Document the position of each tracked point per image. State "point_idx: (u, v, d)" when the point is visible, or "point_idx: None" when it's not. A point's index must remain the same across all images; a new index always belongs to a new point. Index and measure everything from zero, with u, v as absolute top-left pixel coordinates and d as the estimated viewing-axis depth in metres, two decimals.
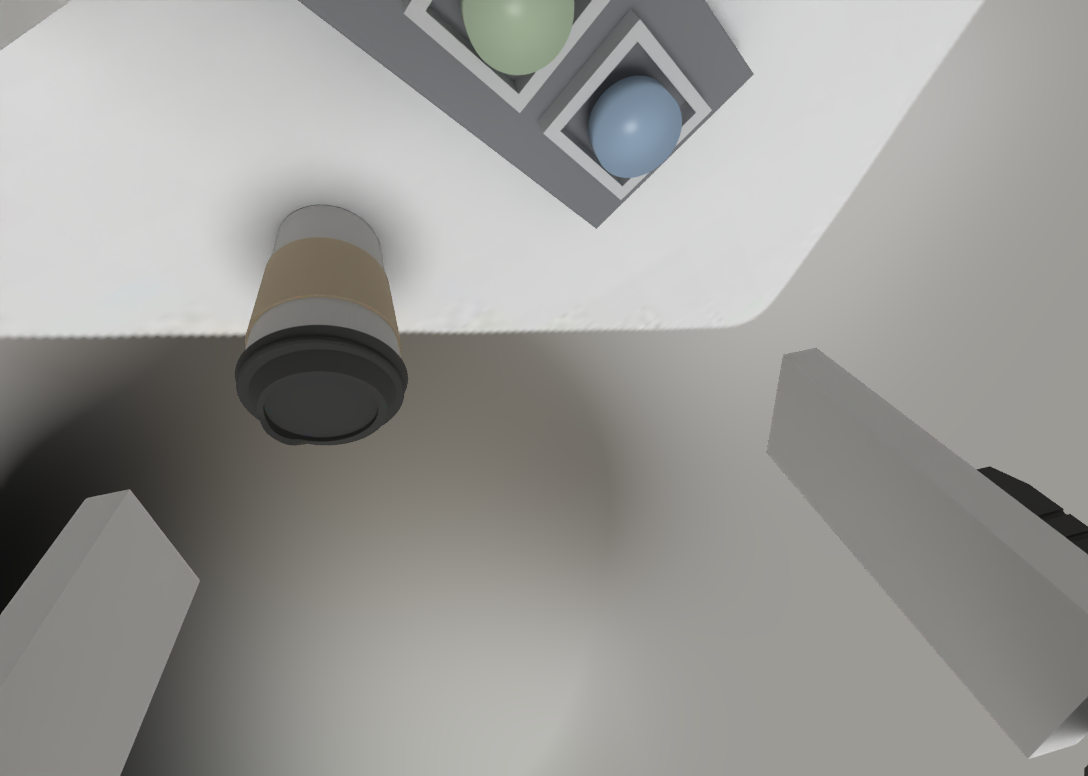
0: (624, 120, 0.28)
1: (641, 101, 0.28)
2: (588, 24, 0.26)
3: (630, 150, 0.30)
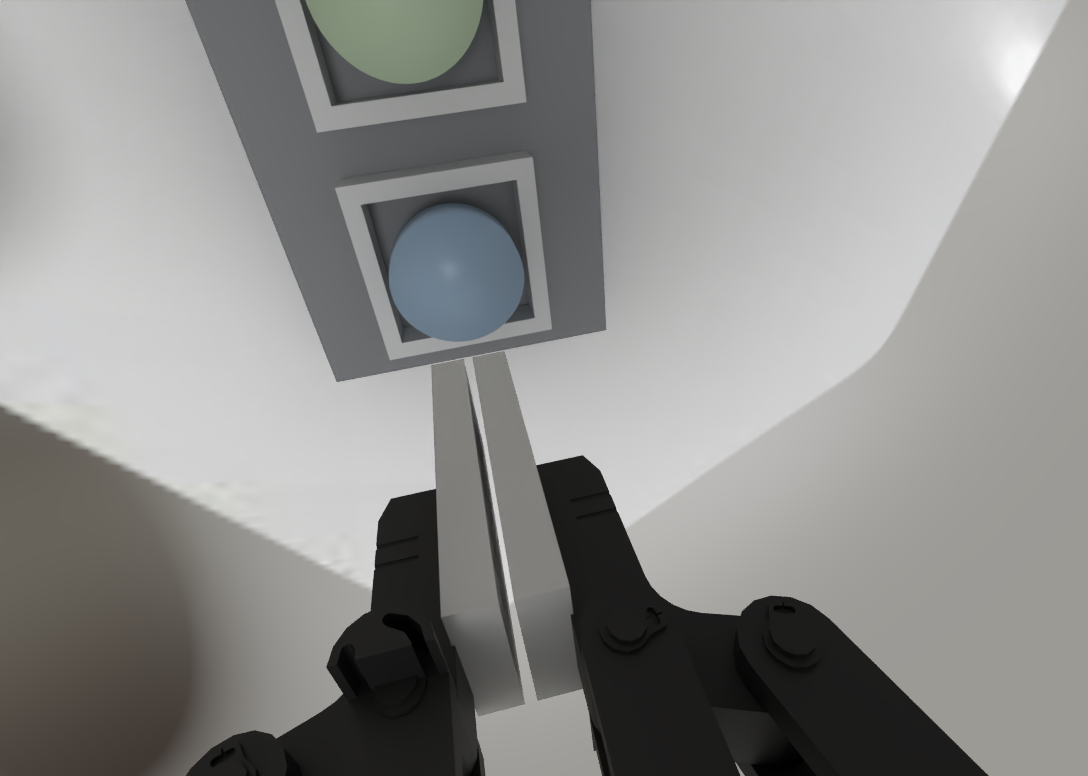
0: (451, 247, 0.19)
1: (485, 240, 0.19)
2: (473, 106, 0.18)
3: (437, 292, 0.20)
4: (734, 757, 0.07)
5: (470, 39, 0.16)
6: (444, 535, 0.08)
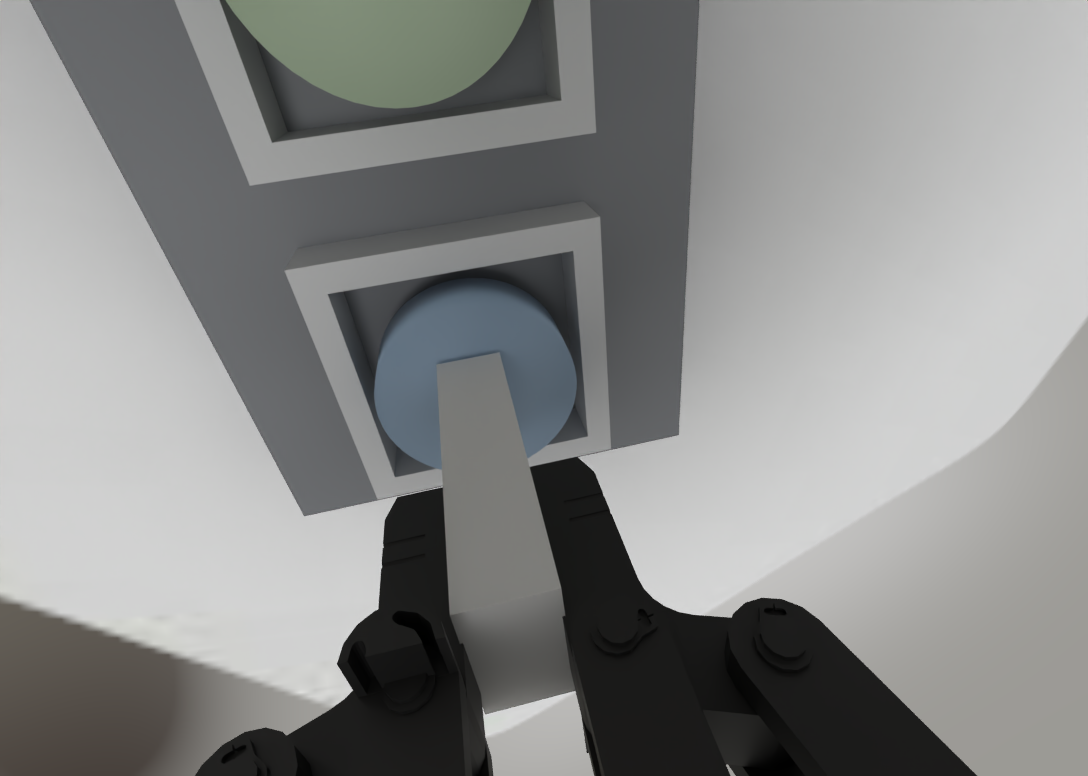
0: (469, 350, 0.12)
1: (521, 339, 0.12)
2: (509, 140, 0.11)
3: None
4: (726, 759, 0.07)
5: (515, 27, 0.09)
6: (451, 533, 0.08)
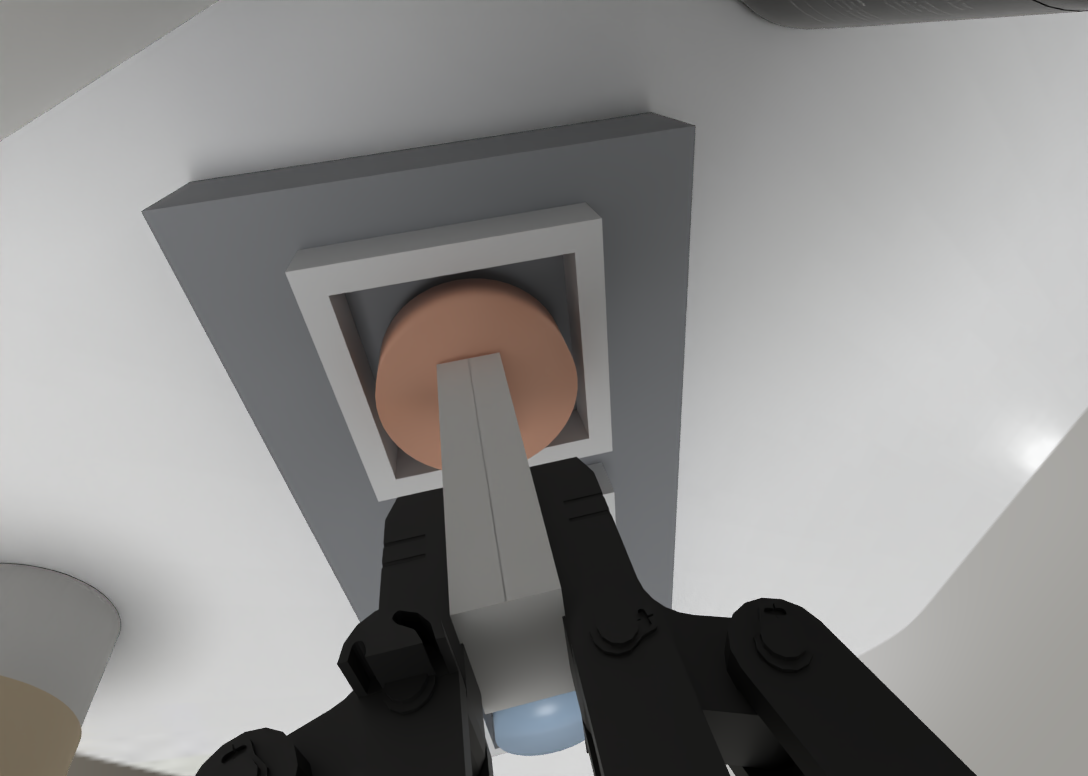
0: (549, 712, 0.23)
1: (577, 704, 0.23)
2: None
3: (533, 734, 0.23)
4: (726, 760, 0.07)
5: None
6: (452, 533, 0.08)
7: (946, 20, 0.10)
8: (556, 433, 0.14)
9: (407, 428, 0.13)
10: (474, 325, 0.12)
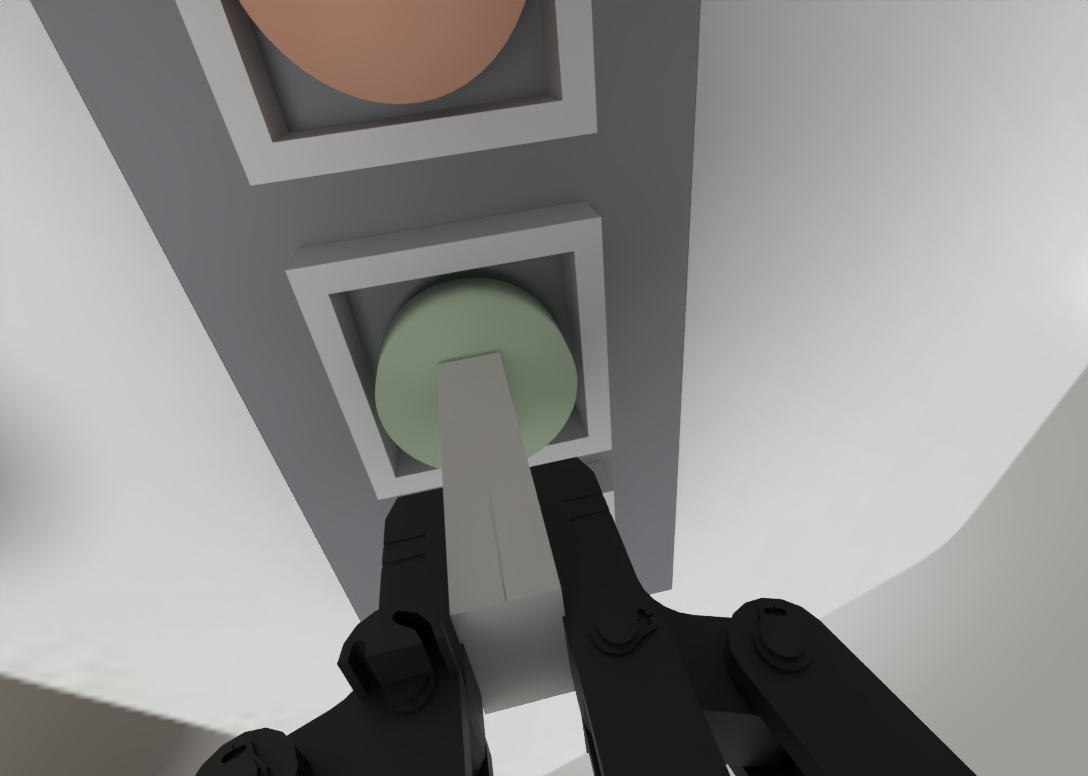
0: None
1: None
2: (552, 459, 0.16)
3: None
4: (726, 760, 0.07)
5: (558, 431, 0.14)
6: (452, 533, 0.08)
7: None
8: (506, 32, 0.09)
9: None
10: None
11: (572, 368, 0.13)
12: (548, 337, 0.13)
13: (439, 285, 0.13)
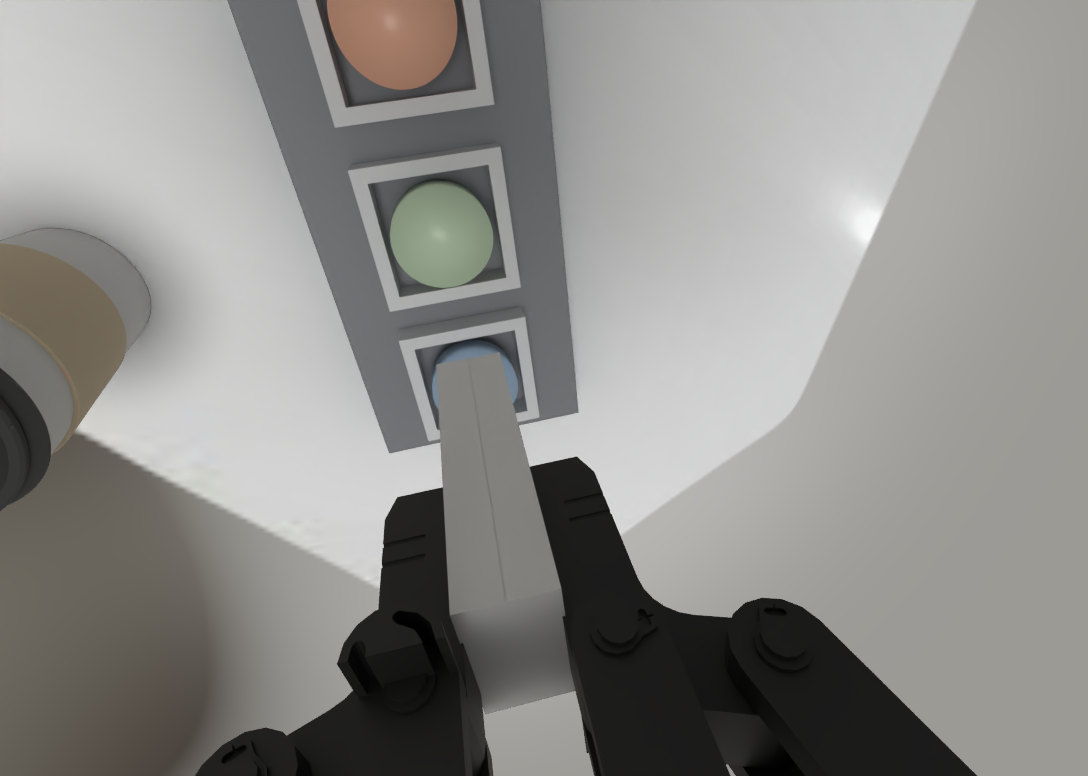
0: None
1: None
2: (487, 292, 0.29)
3: None
4: (726, 760, 0.07)
5: (485, 263, 0.27)
6: (452, 533, 0.08)
7: None
8: (447, 59, 0.22)
9: (348, 38, 0.21)
10: None
11: (489, 225, 0.26)
12: (475, 206, 0.25)
13: (421, 183, 0.26)
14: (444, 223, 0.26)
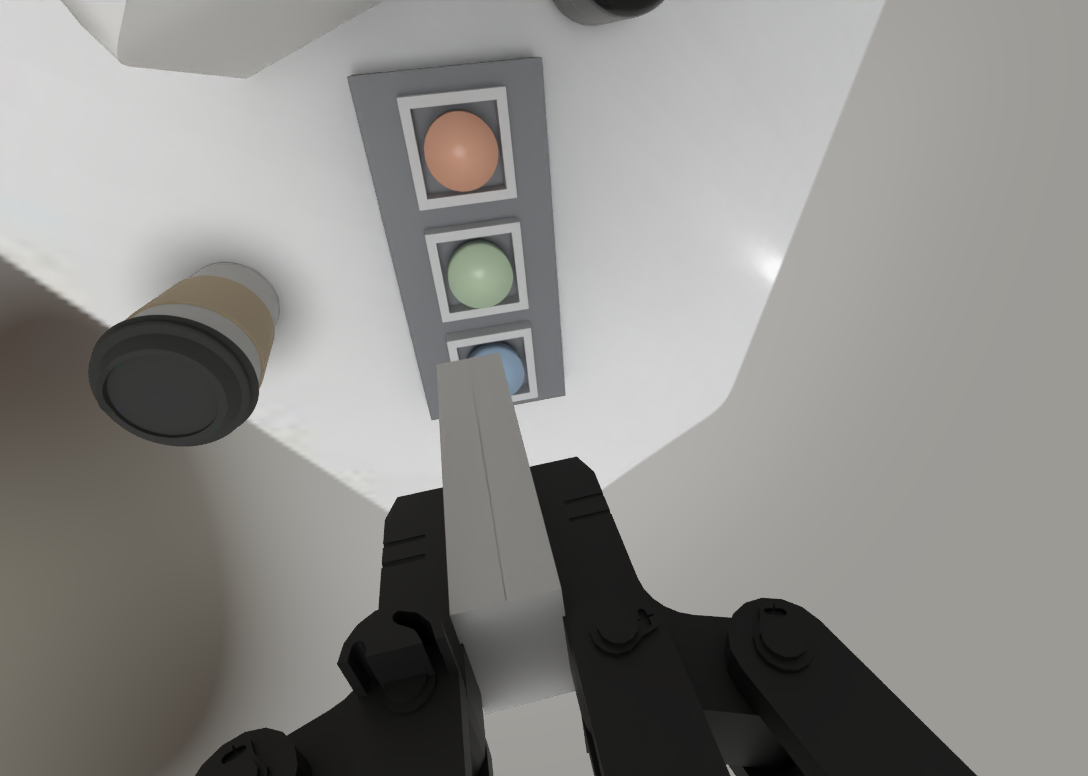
0: None
1: (508, 360, 0.45)
2: (506, 311, 0.44)
3: None
4: (726, 760, 0.07)
5: (507, 293, 0.42)
6: (452, 533, 0.08)
7: (610, 21, 0.34)
8: (491, 175, 0.37)
9: (434, 164, 0.36)
10: (460, 120, 0.35)
11: (511, 270, 0.41)
12: (503, 258, 0.40)
13: (468, 242, 0.41)
14: (482, 268, 0.40)
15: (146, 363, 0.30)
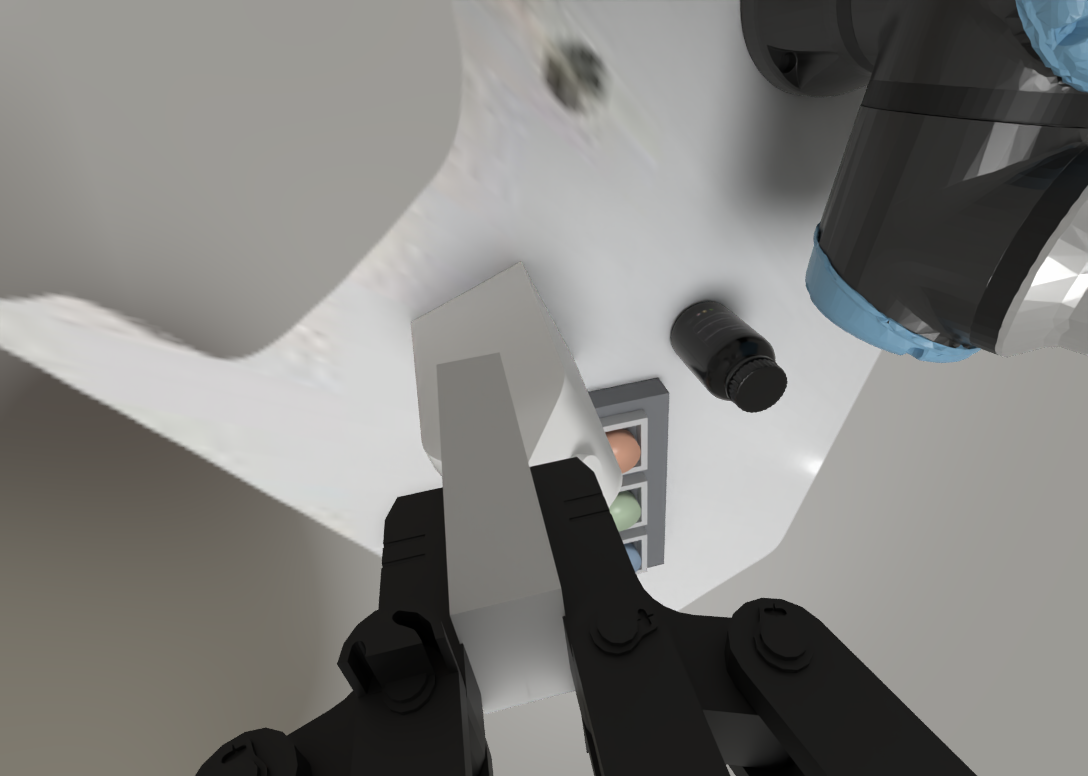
0: None
1: (631, 556, 0.64)
2: (632, 527, 0.63)
3: None
4: (726, 760, 0.07)
5: (635, 522, 0.61)
6: (452, 533, 0.08)
7: None
8: (634, 465, 0.56)
9: None
10: (619, 442, 0.54)
11: (640, 510, 0.60)
12: (635, 504, 0.59)
13: None
14: (621, 511, 0.59)
15: None
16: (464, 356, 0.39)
